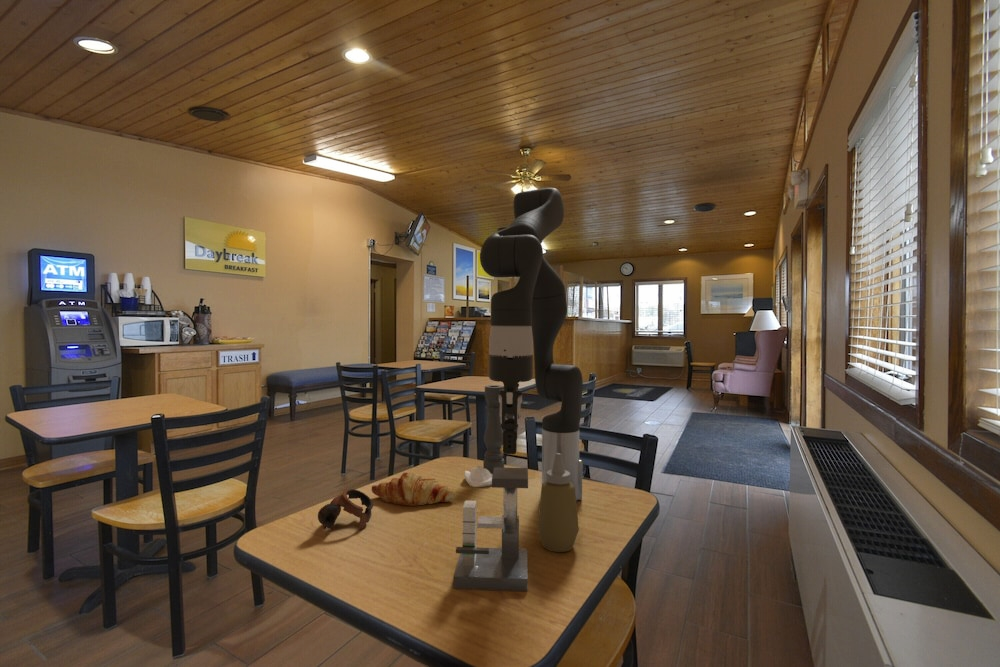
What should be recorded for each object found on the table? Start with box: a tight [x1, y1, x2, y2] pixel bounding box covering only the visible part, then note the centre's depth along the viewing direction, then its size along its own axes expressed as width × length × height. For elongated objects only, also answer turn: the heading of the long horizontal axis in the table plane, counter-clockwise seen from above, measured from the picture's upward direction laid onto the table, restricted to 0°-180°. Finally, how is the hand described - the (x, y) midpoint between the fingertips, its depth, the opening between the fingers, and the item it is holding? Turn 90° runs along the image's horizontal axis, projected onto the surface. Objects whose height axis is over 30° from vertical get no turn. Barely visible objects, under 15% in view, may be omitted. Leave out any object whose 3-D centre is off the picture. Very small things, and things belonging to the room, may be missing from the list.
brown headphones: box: [317, 488, 374, 530], centre depth 98 cm, size 12×10×8 cm
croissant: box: [371, 472, 456, 507], centre depth 113 cm, size 21×10×8 cm, turn 84°
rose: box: [464, 465, 493, 488], centre depth 127 cm, size 10×4×10 cm
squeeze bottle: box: [537, 453, 580, 553], centre depth 90 cm, size 8×8×18 cm
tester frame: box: [453, 500, 529, 592], centre depth 79 cm, size 12×10×12 cm
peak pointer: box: [455, 546, 490, 554], centre depth 77 cm, size 6×1×1 cm, turn 87°
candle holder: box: [482, 384, 505, 474], centre depth 136 cm, size 6×6×25 cm
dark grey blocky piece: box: [476, 467, 529, 534], centre depth 79 cm, size 8×6×10 cm
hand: (510, 446), depth 79 cm, fingers open, 8 cm apart
